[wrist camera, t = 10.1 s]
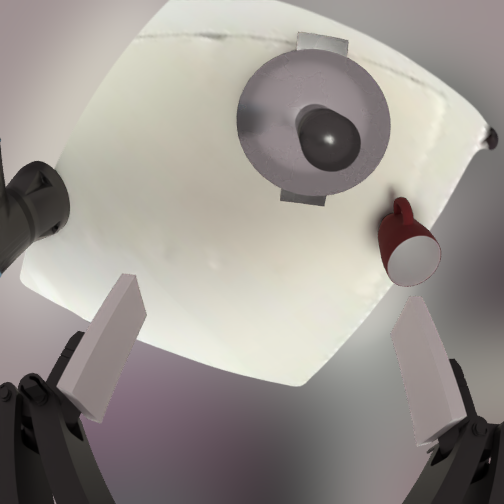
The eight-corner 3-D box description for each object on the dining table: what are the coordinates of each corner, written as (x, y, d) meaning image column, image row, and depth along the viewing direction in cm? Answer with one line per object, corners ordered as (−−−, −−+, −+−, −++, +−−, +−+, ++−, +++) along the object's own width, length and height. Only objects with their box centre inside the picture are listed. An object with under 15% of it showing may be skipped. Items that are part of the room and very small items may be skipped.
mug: (359, 194, 38) (379, 228, 30) (409, 179, 36) (439, 209, 27) (373, 252, 43) (389, 293, 35) (417, 238, 41) (441, 276, 32)
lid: (236, 178, 31) (213, 230, 21) (245, 45, 23) (221, 22, 13) (367, 196, 30) (401, 252, 21) (390, 69, 22) (446, 68, 12)
